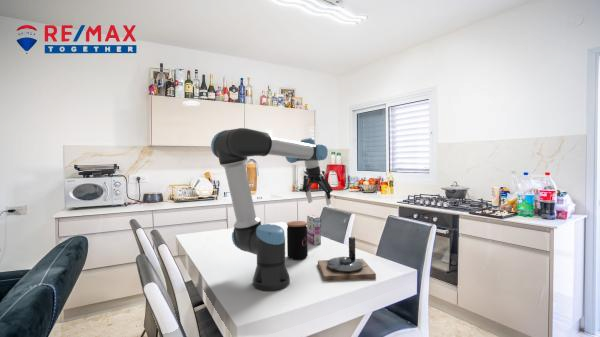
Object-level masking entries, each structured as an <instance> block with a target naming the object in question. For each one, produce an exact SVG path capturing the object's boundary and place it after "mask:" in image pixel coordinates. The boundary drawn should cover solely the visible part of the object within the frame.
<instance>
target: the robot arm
mask: <svg viewBox="0 0 600 337" xmlns="http://www.w3.org/2000/svg"><path fill="white" fill-rule="evenodd" d="M210 150H211V152H212V154H213V155H214V156H216V157H217V158H218V161H219V165H220V166H221V167H223V168H224V170H225V175H226V179H227V185H228V189H229V193H230V197H231V202H232V207H233V212H234V216H235V220H236V221H235V222H234V224H233V227H234V228H233V231H232V233H231V240H232V244H233V245H234V246H235V247H236V248H237V249H239V250H240V251H243V252H246V253H250V254H253V255H256V267H255V272H254V275H253V278H252V285H253V286H252V287H254V288H255V289H257V290H259V291H266V292H267V291H268V292H269V291H270V292H272V291H279V290H282V289H284V288H287V287H288V286H289V285H290V283H291V282H290V280H291V278H290V274H289V271H288V268H287V266H286V265H287V264H286V236H285V230H284V228H283V227H282V226H280V225H276V224H269V223H266V224H265V223H264V224H262V223H261V218H260V217H259V216H257V215H256V211H255V210H256V209H255V206H254V201H253V196H252V192H251V186H250V183H249V182H250V181H249V177H248V173H247V168H246V162H247V161H248V158H249V157H267V156H268V155H269V156H279V157H285V159H286V161H287V162H288V163H291V164H293V163H297V162H304V166H305V171H306V174H305V175H303V184H302V189H301V191H304V192H305V197H306V198H307V202H308V204H311V203H312V202H313V198H312V192H311V190H310V189H311V187H312V186H313V184H317V185H319V187H320V188H321V189H322V191H324V196H325V202H326V205H327V206H329V205H331V204H332V202H331V201H332V200H331V198H332V197H331V192H333V191H334V190H333V188H332V186H331V185H330V183H329V181H328V180H327V176H326V175H325V174H322V175H321V167H320V161H324V160H326V159H327V157H328V155H329V154H328V153H329V150H328V148H327V146H326V145H325V144H321V143H320V144H316V140H315V138H314V137H307V138H303V139H301V140H300V141H298V140H292V139H288V138H287V139H286V138H281V137H276V136H272V135H271V134H270V133H268V132H264V131H261V130H257V129H256V130H255V129H252V128H248V127H247V128H245V127H244V128H243V127H240V128H233V129H225V130H222V131H220V132H218V133H216V134H215V135H214V136H213V138H212V140H211V142H210Z"/></svg>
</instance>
